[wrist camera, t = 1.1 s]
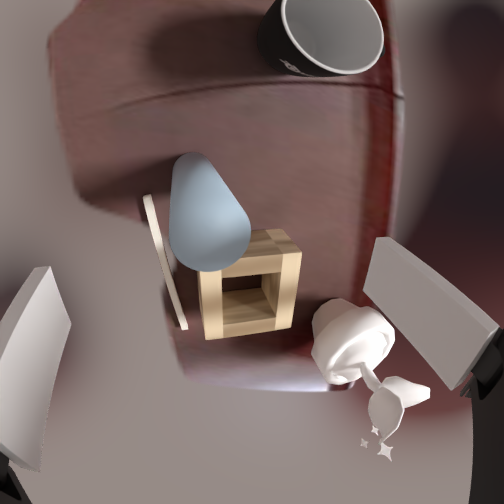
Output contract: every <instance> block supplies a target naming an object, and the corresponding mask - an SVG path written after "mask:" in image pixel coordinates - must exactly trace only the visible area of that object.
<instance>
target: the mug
mask: <svg viewBox="0 0 504 504" xmlns="http://www.w3.org/2000/svg"><path fill="white" fill-rule="evenodd" d="M383 40H384V38H383V29H382V25H381V22H380V19H379V17H378V15H377V13H376V11H375V9H374V8H373V6H372V5H371V4H370V2H369V1H368V0H275V2H274V3H273V4H272V6H271V7H270V8H269V10H268V11H267V13H266V14H265V16H264V18H263V20H262V22H261V24H260V27H259V30H258V35H257V43H258V48H259V51H260V53H261V55H262V57H263V58H264V60H265V61H266V62H267V63H268V64H269V65H270V66H272V67H273V68H275V69H276V70H278V71H280V72H283V73H286V74H289V75H294V76H302V77H335V76H346V75H353V74H357V73H360V72H363V71H365V70H367V69H369V68H370V67H371V66H373V65H374V64H375V63H376V61H377V60H378V58H380V57H382V56H383V55H384V53H385V47H384V45H383Z"/></svg>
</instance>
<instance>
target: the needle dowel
mask: <svg viewBox="0 0 504 504" xmlns="http://www.w3.org/2000/svg"><path fill="white" fill-rule="evenodd" d="M250 238H251V226H250V222H249V219H248V217H247V215H246V213H245V212H244V210H243V209H242V207H241V206H240V204H239V203H238V202H237V200H236V199H235V197H234V196H233V194H232V193H231V191H230V190H229V189H228V187H227V186H226V184H225V183H224V181H223V180H222V179H221V177H220V176H219V174H218V173H217V171H216V170H215V169H214V167H213V166H212V164H211V163H210V161H209V160H208V159H207V158H206V157H205V156H204V155H202V154H200V153H196V152H189V153H186V154H184V155H182V156H180V157H179V158H178V159H177V161H176V162H175V164H174V166H173V173H172V186H171V201H170V220H169V242H170V246H171V249H172V251H173V253H174V255H175V256H176V258H177V259H178V260H179V261H180V262H181V263H182V264H184V265H185V266H187V267H189V268H191V269H193V270H196V271H201V272H214V271H219V270H222V269H225V268H227V267H229V266H231V265H232V264H234V263H235V262H236V261H238V260H239V259H240V258H241V256H242V255H243V254H244V253H245V251H246V249H247V247H248V245H249V242H250Z"/></svg>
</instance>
